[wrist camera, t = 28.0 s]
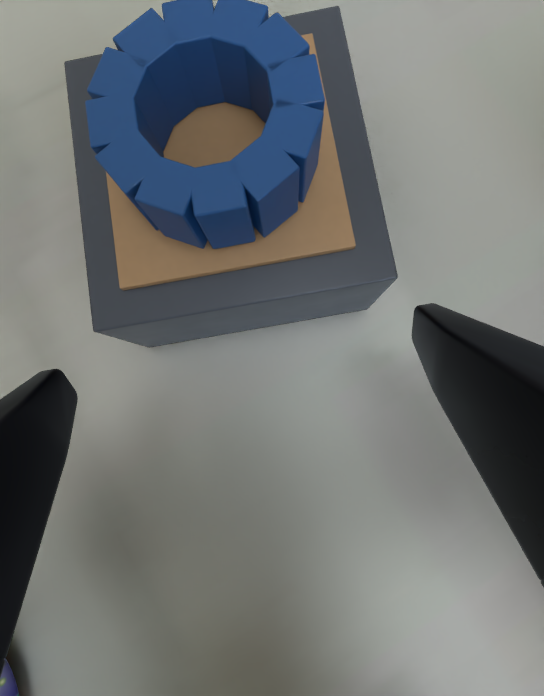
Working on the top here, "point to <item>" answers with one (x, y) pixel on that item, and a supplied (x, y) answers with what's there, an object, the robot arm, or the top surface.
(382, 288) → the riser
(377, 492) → the top surface
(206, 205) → the ring
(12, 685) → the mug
